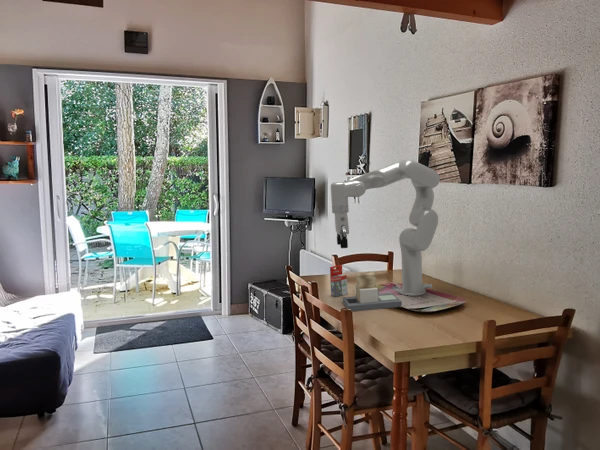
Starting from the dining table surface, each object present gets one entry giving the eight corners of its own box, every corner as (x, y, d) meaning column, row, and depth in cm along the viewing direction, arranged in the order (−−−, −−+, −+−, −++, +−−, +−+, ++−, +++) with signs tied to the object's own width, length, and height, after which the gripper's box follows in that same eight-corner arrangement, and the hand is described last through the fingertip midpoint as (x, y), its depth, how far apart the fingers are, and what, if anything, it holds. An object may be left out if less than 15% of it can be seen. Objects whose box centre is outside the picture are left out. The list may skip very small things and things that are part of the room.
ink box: (348, 294, 238) (346, 265, 236) (335, 297, 234) (333, 268, 232) (343, 292, 241) (342, 264, 239) (330, 295, 237) (329, 267, 235)
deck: (392, 298, 227) (392, 292, 227) (401, 306, 213) (401, 300, 213) (342, 302, 224) (342, 296, 224) (349, 311, 211) (348, 305, 210)
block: (374, 297, 221) (373, 272, 219) (376, 300, 217) (375, 274, 215) (357, 299, 220) (356, 273, 218) (359, 301, 216) (358, 275, 214)
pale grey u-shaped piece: (372, 296, 223) (372, 283, 222) (378, 301, 214) (377, 288, 213) (356, 297, 222) (355, 285, 222) (360, 303, 213) (360, 290, 212)
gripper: (351, 210, 210) (354, 248, 212) (345, 206, 227) (347, 242, 229) (335, 211, 209) (337, 250, 211) (329, 208, 226) (331, 243, 228)
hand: (342, 246), depth 220 cm, fingers open, 9 cm apart
